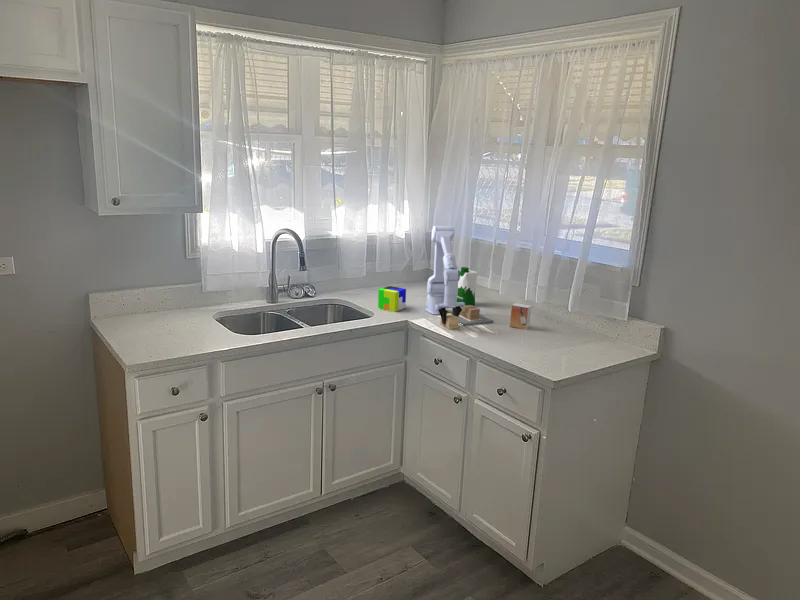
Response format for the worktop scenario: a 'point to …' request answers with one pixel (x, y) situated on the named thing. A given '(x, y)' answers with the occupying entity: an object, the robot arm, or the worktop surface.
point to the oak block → (450, 321)
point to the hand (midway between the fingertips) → (449, 323)
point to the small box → (520, 316)
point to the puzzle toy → (392, 298)
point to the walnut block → (470, 312)
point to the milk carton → (467, 286)
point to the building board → (479, 321)
